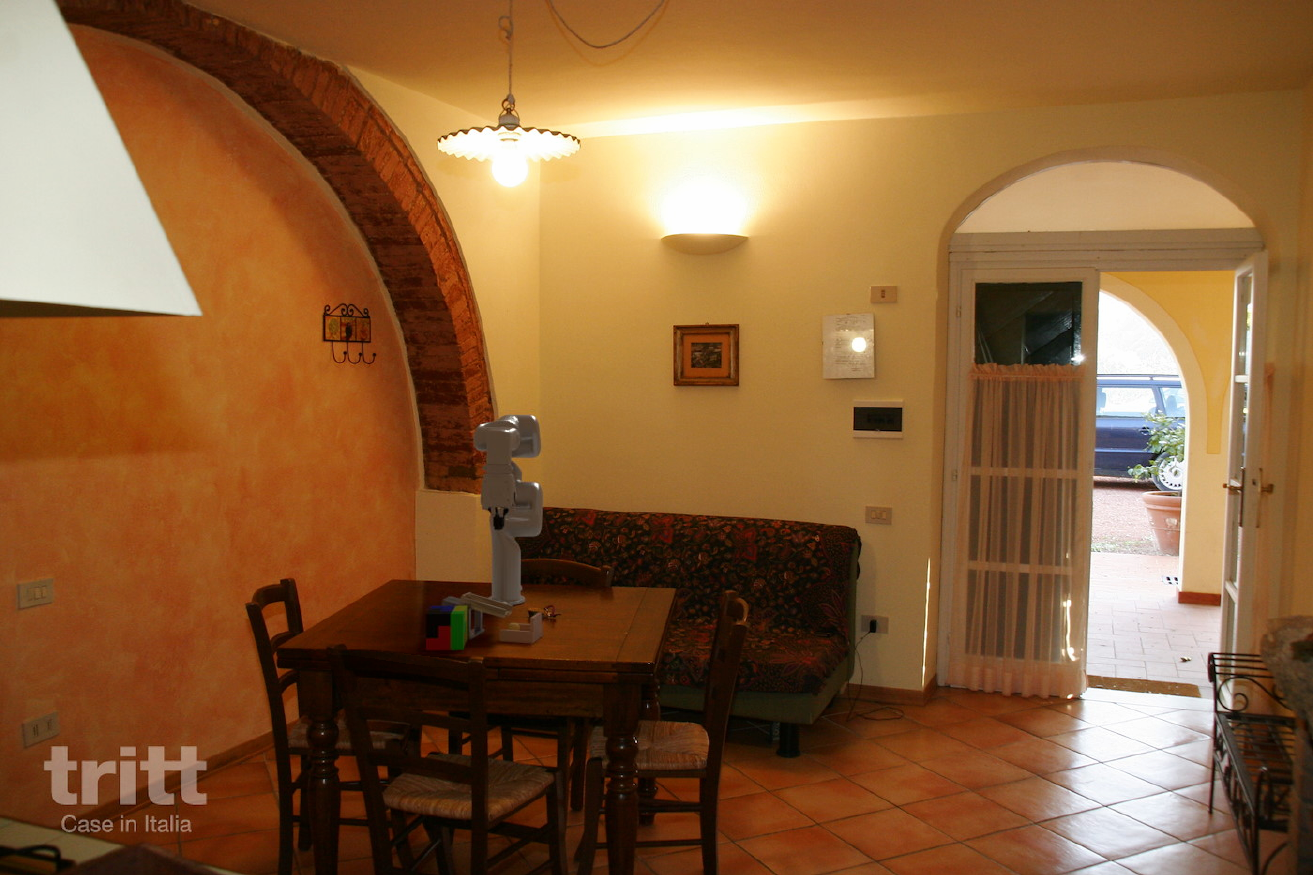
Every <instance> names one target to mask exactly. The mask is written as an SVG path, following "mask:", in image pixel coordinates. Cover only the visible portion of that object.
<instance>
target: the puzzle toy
mask: <svg viewBox="0 0 1313 875" xmlns="http://www.w3.org/2000/svg"><path fill="white" fill-rule="evenodd" d="M467 642H468V639H467V606H442V605H431V606H430V607H429V608H428V610H427V612H426V613H425V651H455V650H456V651H460V650H461V651H463V650H464V649H465V646H466V643H467Z"/></svg>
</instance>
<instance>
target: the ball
mask: <svg viewBox="0 0 1313 875" xmlns="http://www.w3.org/2000/svg"><path fill="white" fill-rule="evenodd" d="M510 623H511V624H510ZM510 623H508V625H507V629H506V630H518V631H520V626H519V625H518V624H517V623H518V622H510Z"/></svg>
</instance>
